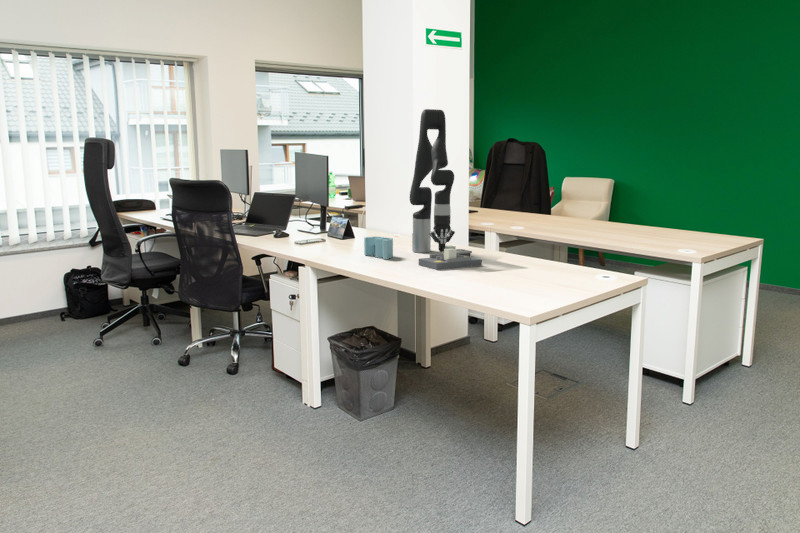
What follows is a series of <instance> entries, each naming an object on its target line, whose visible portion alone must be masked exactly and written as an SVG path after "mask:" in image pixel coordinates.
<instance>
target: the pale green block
mask: <svg viewBox="0 0 800 533" xmlns="http://www.w3.org/2000/svg"><path fill="white" fill-rule="evenodd" d="M456 247H457V246H455V245H451V244H450V245H445V249H449V248H453V249H457V248H456Z"/></svg>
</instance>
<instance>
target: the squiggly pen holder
mask: <svg viewBox="0 0 800 533" xmlns="http://www.w3.org/2000/svg"><path fill="white" fill-rule="evenodd" d="M393 239H394V238H392V237H384V236H383V237H382V236H364V238H363V240H364V243H363V244H364V245H363V246H364V247H363V248H364V249H363V250H364V255H365V257H367V256H375V257H383V258H382V260H390V259H389V258H391V257H394V240H393ZM374 253H375V254H374ZM373 254H374V255H373ZM366 255H367V256H366ZM391 259H392V258H391Z"/></svg>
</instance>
